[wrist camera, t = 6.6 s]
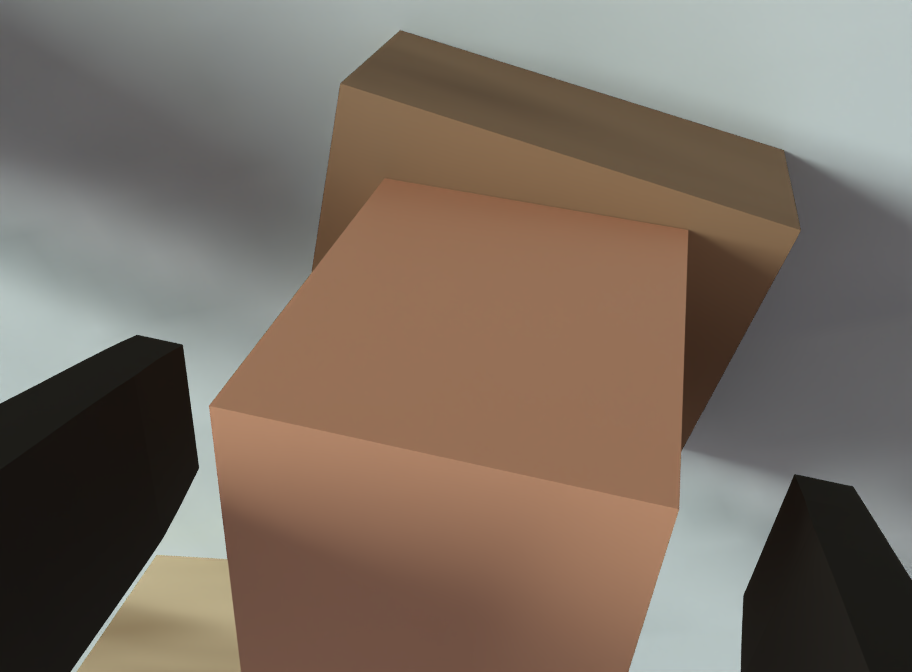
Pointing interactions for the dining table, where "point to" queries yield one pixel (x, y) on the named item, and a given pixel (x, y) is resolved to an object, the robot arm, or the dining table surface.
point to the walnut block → (570, 174)
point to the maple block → (172, 622)
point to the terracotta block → (458, 442)
